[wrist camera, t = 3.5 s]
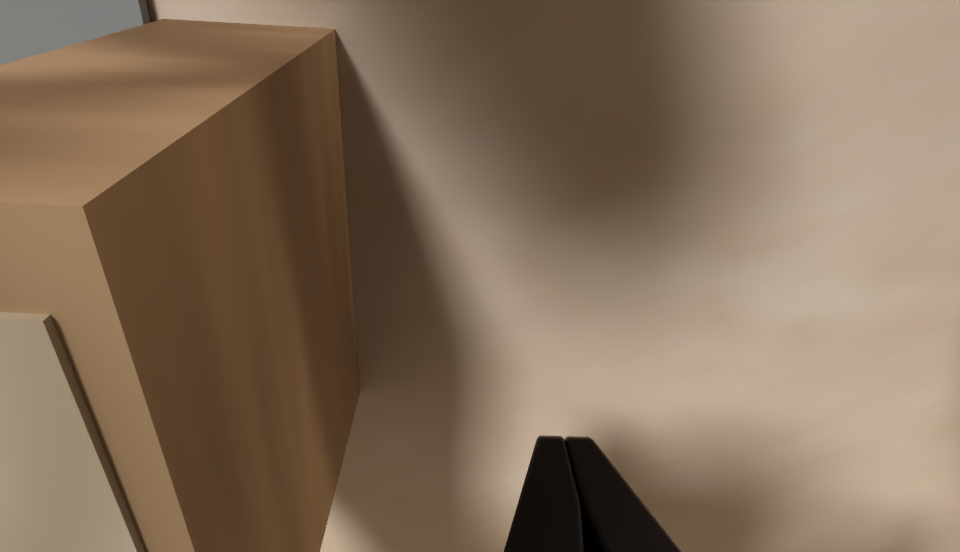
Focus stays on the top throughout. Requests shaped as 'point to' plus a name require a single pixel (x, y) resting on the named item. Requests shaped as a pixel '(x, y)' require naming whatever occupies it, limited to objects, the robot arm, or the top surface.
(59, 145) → the walnut slab
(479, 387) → the top surface
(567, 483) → the robot arm
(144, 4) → the grey rubber mat
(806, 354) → the top surface
